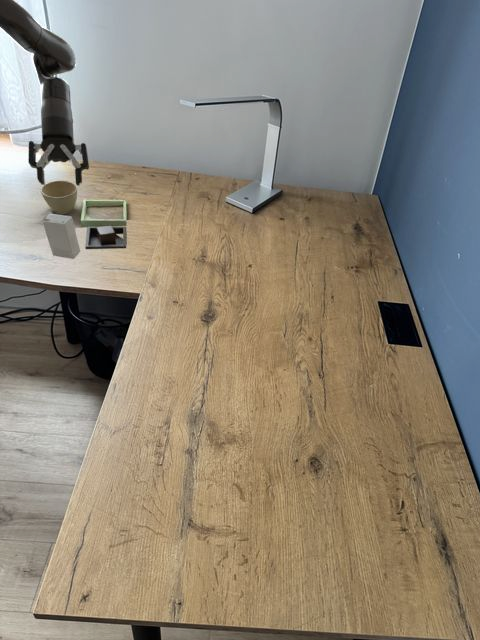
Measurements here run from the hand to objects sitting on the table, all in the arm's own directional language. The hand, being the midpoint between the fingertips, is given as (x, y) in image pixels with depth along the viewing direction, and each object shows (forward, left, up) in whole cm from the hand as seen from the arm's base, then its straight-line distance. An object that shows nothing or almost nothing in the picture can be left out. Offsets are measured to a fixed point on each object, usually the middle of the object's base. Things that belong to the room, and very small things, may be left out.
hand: (60, 184), depth 129 cm
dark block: (+10, -2, -16) cm, 19 cm away
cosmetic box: (0, -9, -17) cm, 19 cm away
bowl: (-3, +17, -17) cm, 24 cm away
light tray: (+9, +13, -17) cm, 23 cm away
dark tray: (+10, -2, -17) cm, 20 cm away
